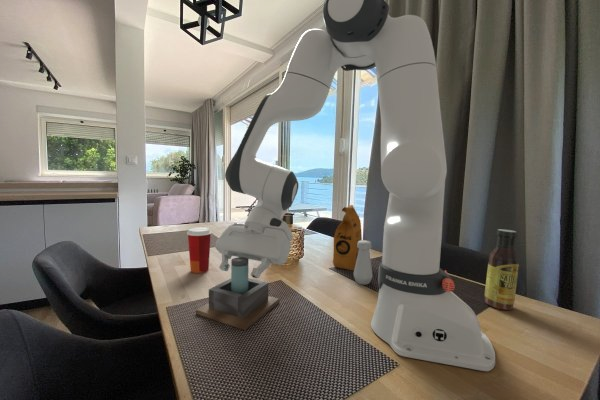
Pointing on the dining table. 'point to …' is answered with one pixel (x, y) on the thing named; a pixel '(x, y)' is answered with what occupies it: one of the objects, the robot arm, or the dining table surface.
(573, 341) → the dining table surface
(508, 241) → the sauce bottle
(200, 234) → the paper cup
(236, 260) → the marker peg
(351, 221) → the coffee package
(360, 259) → the salt shaker
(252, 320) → the grey box holder
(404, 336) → the robot arm
